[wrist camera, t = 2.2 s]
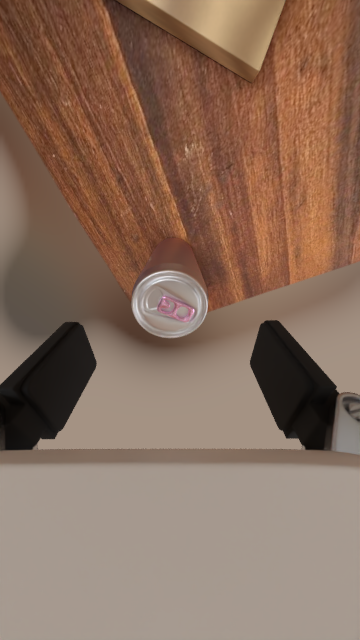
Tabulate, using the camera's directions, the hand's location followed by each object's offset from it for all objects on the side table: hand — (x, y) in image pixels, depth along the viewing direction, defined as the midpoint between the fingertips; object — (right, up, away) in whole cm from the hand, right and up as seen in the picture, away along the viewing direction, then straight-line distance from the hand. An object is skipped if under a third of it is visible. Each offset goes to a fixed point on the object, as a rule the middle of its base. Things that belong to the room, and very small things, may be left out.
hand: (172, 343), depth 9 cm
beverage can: (-1, +10, +16) cm, 19 cm away
